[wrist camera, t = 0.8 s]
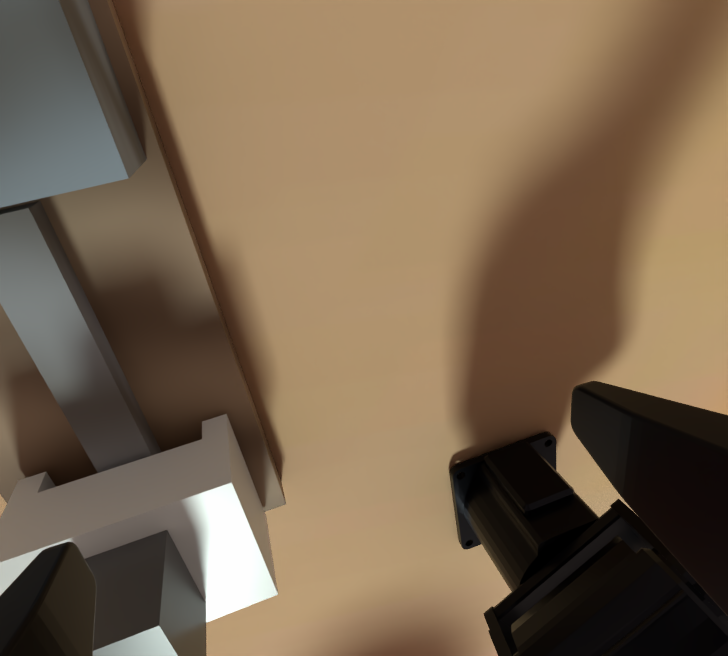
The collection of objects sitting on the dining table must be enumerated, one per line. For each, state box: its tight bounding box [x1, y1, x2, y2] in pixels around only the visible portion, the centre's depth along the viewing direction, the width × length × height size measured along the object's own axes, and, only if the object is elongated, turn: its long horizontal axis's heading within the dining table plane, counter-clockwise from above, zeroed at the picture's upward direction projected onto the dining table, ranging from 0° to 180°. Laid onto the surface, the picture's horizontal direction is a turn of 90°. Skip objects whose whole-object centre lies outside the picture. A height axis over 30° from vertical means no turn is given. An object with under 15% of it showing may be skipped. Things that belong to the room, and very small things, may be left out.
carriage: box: [0, 414, 278, 656], centre depth 18 cm, size 6×8×8 cm
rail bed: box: [0, 0, 286, 512], centre depth 17 cm, size 21×10×6 cm, turn 11°
